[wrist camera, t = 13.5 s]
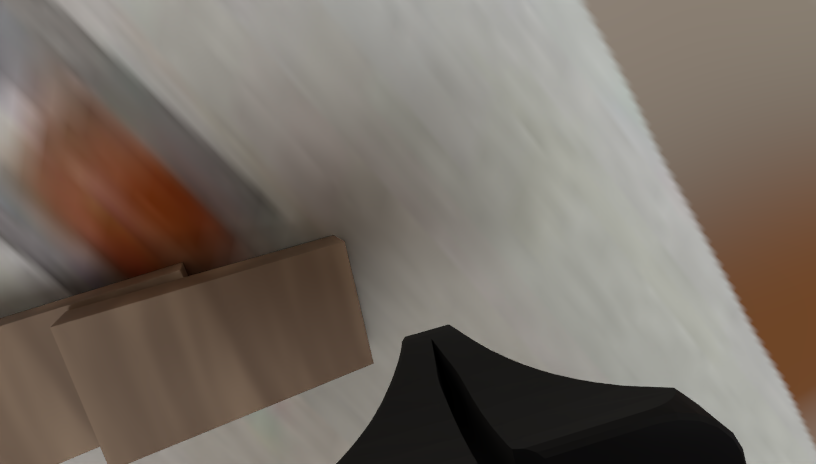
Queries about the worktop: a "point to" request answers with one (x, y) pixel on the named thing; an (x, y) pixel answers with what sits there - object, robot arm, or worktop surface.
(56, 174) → the worktop surface
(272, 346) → the domino
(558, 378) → the robot arm
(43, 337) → the domino
